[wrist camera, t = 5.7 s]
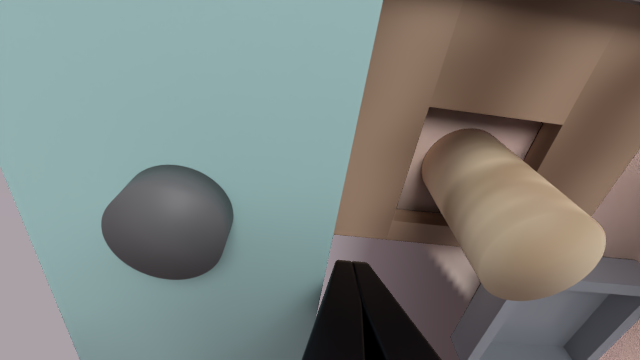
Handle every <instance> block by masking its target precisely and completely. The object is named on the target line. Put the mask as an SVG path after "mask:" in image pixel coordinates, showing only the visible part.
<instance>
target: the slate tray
mask: <svg viewBox="0 0 640 360" xmlns="http://www.w3.org/2000/svg"><path fill="white" fill-rule="evenodd" d="M639 319H640V264H639V263H638V262H637V261H636V260H627V259H617V258H607V257H601V259H600V261H599V262H598V264H597V265H596V267H595V268H594V269H593V270H592V271H591V272H590V273H589V274H588V275H587V276H586V277H584V278H583V279H582V280H581V281H579V282H578V283H576V284H575V285H573V286H571V287H570V288H568V289H566V290H564V291H562V292H559V293H557V294H554V295H552V296H549V297H545V298H541V299H537V300H530V301H511V300H505V299H501V298H499V297H496V296H494V295H492V294H491V293H489V292H488V291H487V290H486V289H485V288H484V287H483V285H482V283H481V284H480V286H479V288H478V290H477V291H476V293H475V295H474V297H473V298H472V300H471V302H470V304H469V305H468V307H467V309H466V311H465V312H464V314H463V316H462V318H461V320H460V322H459V323H458V325H457V326H456V328H455V330H454V332H453V333H452V335H451V340H452V343H453V345H454V348H455V350H456V353H457V355H458V357H459V360H598V359H599V358H600V357H601V356H602V355H603V354H604V353H605V352H606V351H607V350H608V349H609V348H610V347H611V346H612V345H613V344H614V343H615V342H616V341H617V340H618V339H619V338H620V337H621V336H622V335H623V334H624V333H625V332H626V331H627V330H628V329H630V328H631V327H632V326H633V325H634V324H635V323H636V322H637V321H638V320H639Z"/></svg>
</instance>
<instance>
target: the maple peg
mask: <svg viewBox="0 0 640 360" xmlns="http://www.w3.org/2000/svg"><path fill="white" fill-rule="evenodd" d="M421 171H422V179H423V181H424V183H425V185H426V187H427V189H428V190H429V192H430V194H431V196H432V197H433V199H434V201H435V203H436V204H437V206H438V208H439V210H440V211H441V213H442V215H443V217H444V218H445V220H446V222H447V224H448V225H449V227H450V229H451V231H452V232H453V234H454V236H455V238H456V239H457V241H458V243H459V245H460V246H461V248H462V250H463V252H464V253H465V255H466V257H467V259H468V260H469V262H470V264H471V266H472V267H473V269H474V271H475V273H476V274H477V276H478V278H479V280H480V281H481V283H482V285H483V287H484V288H485V289H486V290H487V291H488V292H489V293H491V294H492V295H494V296H496V297H499V298H501V299H505V300H511V301H530V300H537V299H541V298H545V297H549V296H552V295H554V294H557V293H559V292H562V291H564V290H566V289H568V288H570V287H571V286H573V285H575V284H576V283H578V282H579V281H581V280H582V279H583V278H584V277H586V276H587V275H588V274H589V273H590V272H591V271H592V270H593V269H594V268H595V267H596V265H597V264H598V262H599V261H600V259H601V257H602V256H603V253H604V250H605V246H606V236H605V232H604V230H603V228H602V227H601V225H600V224H599V223H598V222H597V221H595V220H594V219H593V218H592V217H591V216H589V215H588V214H587V213H586V212H585V211H583V210H582V209H581V208H580V207H578V206H577V205H576V204H575V203H574V202H572V201H571V200H570V199H569V198H568V197H566V196H565V195H564V194H563V193H562V192H560V191H559V190H558V189H557V188H555V187H554V186H553V185H552V184H551V183H549V182H548V181H547V180H546V179H545V178H543V177H542V176H541V175H540V174H539V173H537V172H536V171H535V170H534V169H532V168H531V167H530V166H529V165H528V164H526V163H525V162H524V161H523V160H522V159H520V158H519V157H518V156H517V155H516V154H514V153H513V152H512V151H511V150H509V149H508V148H507V147H506V146H505V145H503V144H502V143H501V142H500V141H499V140H497V139H496V138H495V137H494V136H492V135H491V134H490V133H488V132H486V131H483V130H480V129H473V128H469V129H461V130H457V131H454V132H452V133H449V134H447V135H445V136H444V137H442V138H441V139H439V140H438V141H437V142H436V143H435V144H434V145H433V146H432V147H431V148H430V149H429V151H428V152H427V154H426V156H425V158H424V160H423V164H422V170H421Z"/></svg>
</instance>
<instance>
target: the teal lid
mask: <svg viewBox="0 0 640 360" xmlns="http://www.w3.org/2000/svg"><path fill="white" fill-rule="evenodd" d="M382 3H383V0H0V167H1V169H2V172H3V174H4V177H5V179H6V182H7V184H8V186H9V189H10V191H11V194H12V196H13V199H14V201H15V203H16V206H17V208H18V211H19V213H20V216H21V218H22V220H23V223H24V225H25V228H26V230H27V233H28V235H29V237H30V240H31V242H32V244H33V247H34V249H35V252H36V254H37V257H38V259H39V262H40V264H41V267H42V269H43V271H44V273H45V276H46V279H47V281H48V283H49V286H50V288H51V291H52V293H53V295H54V298H55V300H56V303H57V305H58V308H59V310H60V313H61V315H62V317H63V320H64V322H65V325H66V327H67V329H68V332H69V334H70V337H71V339H72V341H73V344H74V347H75V349H76V351H77V354H78V356H79V359H80V360H302V357H303V354H304V351H305V348H306V345H307V342H308V340H309V337H310V334H311V331H312V328H313V325H314V322H315V319H316V314H317V310H318V305H319V300H320V295H321V291H322V286H323V281H324V277H325V272H326V267H327V263H328V257H329V253H330V248H331V244H332V239H333V234H334V229H335V225H336V220H337V215H338V211H339V206H340V201H341V196H342V192H343V187H344V182H345V178H346V173H347V168H348V163H349V159H350V154H351V149H352V144H353V140H354V135H355V130H356V126H357V121H358V116H359V111H360V107H361V102H362V97H363V93H364V88H365V83H366V78H367V74H368V69H369V64H370V59H371V55H372V50H373V45H374V41H375V36H376V31H377V26H378V22H379V17H380V12H381V8H382Z"/></svg>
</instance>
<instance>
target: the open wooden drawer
mask: <svg viewBox="0 0 640 360" xmlns="http://www.w3.org/2000/svg"><path fill="white" fill-rule="evenodd" d="M429 107H435V108H443V109H450V110H457V111H465V112H472V113H479V114H487V115H494V116H501V117H509V118H516V119H523V120H531V121H538V122H544V123H543V125H542V127H541V129H540V131H539V133H538V135H537V136H536V138H535V140H534V142H533V144H532V146H531V148H530V150H529V152H528V154H527V156H526V157H525V159H524V162H525V163H526V164H528V165H529V166H530V167H531V168H532V169H534V170H535V171H536V172H537V173H539V174H540V175H541V176H542V177H543V178H545V179H546V180H547V181H548V182H549V183H551V184H552V185H553V186H554V187H555V188H557V189H558V190H559V191H560V192H562V193H563V194H564V195H565V196H566V197H568V198H569V199H570V200H571V201H572V202H574V203H575V204H576V205H577V206H578V207H580V208H581V209H582V210H583V211H585V212H586V213H587V214H588V215H589V216H592V215H593V213H594V212H595V210H596V209H597V208H598V206H599V205H600V203H601V202H602V201H603V199H604V198H605V196H606V195H607V194H608V192H609V191H610V189H611V188H612V187H613V185H614V184H615V182H616V181H617V180H618V178H619V177H620V175H621V174H622V173H623V171H624V170H625V168H626V167H627V166H628V164H629V163H630V161H631V160H632V159H633V157H634V156H635V154H636V153H637V152H638V150H639V149H640V0H383V3H382V8H381V12H380V17H379V22H378V26H377V31H376V36H375V41H374V45H373V50H372V55H371V59H370V64H369V69H368V74H367V78H366V83H365V88H364V93H363V97H362V102H361V107H360V111H359V116H358V121H357V126H356V130H355V135H354V140H353V144H352V149H351V154H350V159H349V163H348V168H347V173H346V178H345V182H344V187H343V192H342V196H341V201H340V206H339V211H338V215H337V220H336V225H335V229H334V235H344V236H355V237H366V238H376V239H386V240H396V241H407V242H417V243H427V244H438V245H448V246H459V247H461V246H460V245H459V243H458V241H457V239H456V238H455V236H454V234H453V232H452V231H451V229H450V227H449V225H448V224H447V222H446V220H445V218H444V217H443V215H442V214H439V213H429V212H420V211H410V210H401V209H396V208H397V205H398V202H399V199H400V195H401V192H402V189H403V186H404V183H405V180H406V177H407V174H408V171H409V168H410V165H411V161H412V158H413V155H414V152H415V149H416V146H417V143H418V140H419V137H420V134H421V130H422V127H423V124H424V121H425V118H426V115H427V112H428V109H429Z"/></svg>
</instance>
